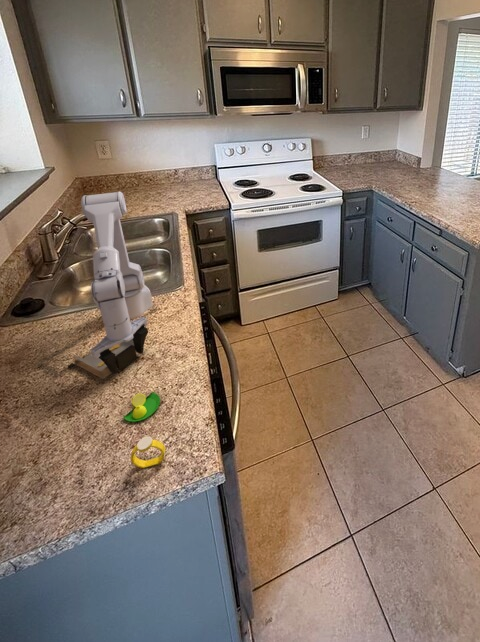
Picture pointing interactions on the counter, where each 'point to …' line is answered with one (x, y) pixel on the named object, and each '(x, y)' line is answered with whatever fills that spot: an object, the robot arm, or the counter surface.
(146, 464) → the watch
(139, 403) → the green plate with lemons
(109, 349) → the key
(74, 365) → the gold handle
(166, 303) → the counter surface
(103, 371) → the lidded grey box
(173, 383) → the counter surface
